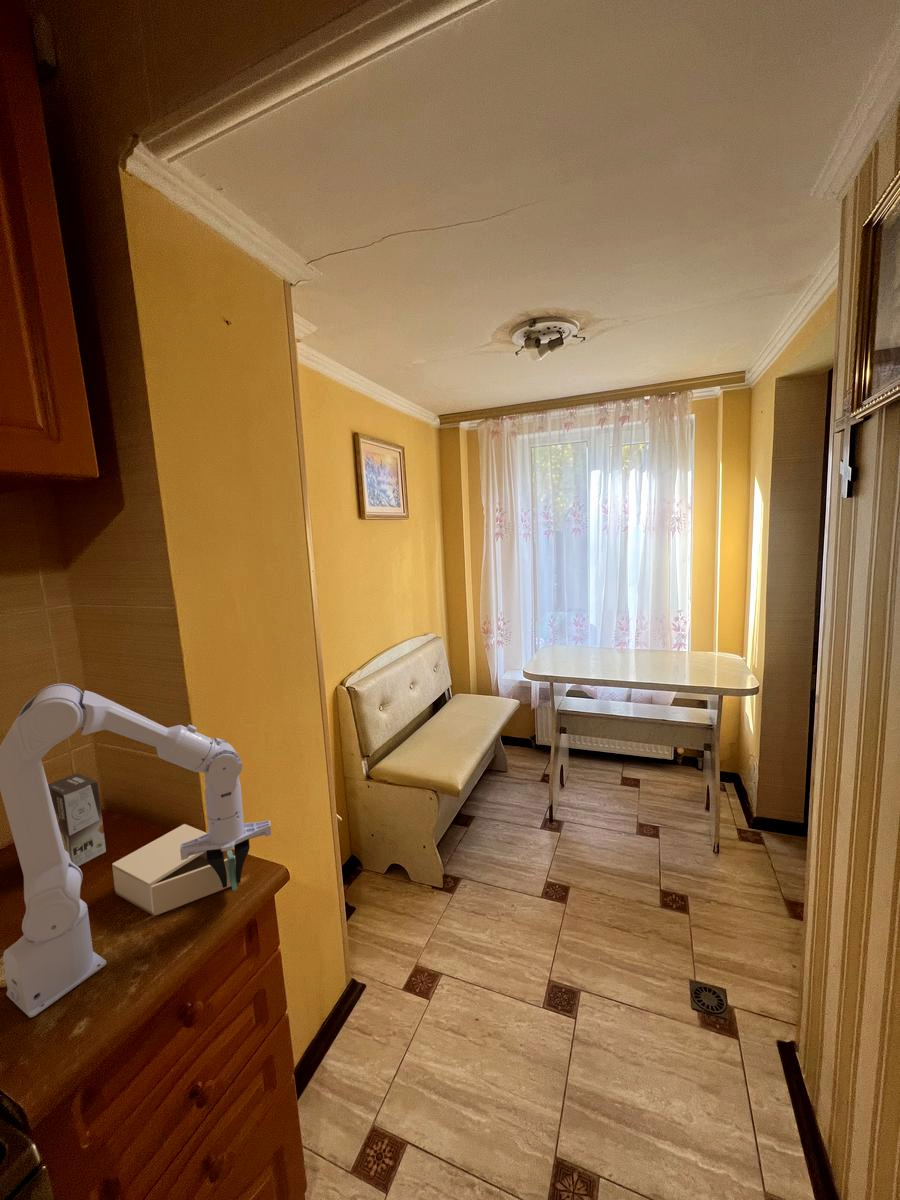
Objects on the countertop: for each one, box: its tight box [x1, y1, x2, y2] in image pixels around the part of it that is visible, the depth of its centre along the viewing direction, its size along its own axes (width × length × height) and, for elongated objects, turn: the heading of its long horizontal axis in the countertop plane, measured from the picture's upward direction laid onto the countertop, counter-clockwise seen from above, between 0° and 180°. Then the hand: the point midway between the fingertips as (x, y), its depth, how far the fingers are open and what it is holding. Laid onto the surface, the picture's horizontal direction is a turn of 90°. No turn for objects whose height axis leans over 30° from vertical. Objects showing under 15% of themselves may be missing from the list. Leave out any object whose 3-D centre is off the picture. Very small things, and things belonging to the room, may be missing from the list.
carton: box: [111, 823, 210, 916], centre depth 90 cm, size 14×12×6 cm
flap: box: [151, 849, 242, 916], centre depth 83 cm, size 14×5×7 cm, turn 124°
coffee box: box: [48, 772, 107, 867], centre depth 98 cm, size 9×6×16 cm
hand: (231, 881), depth 84 cm, fingers closed
